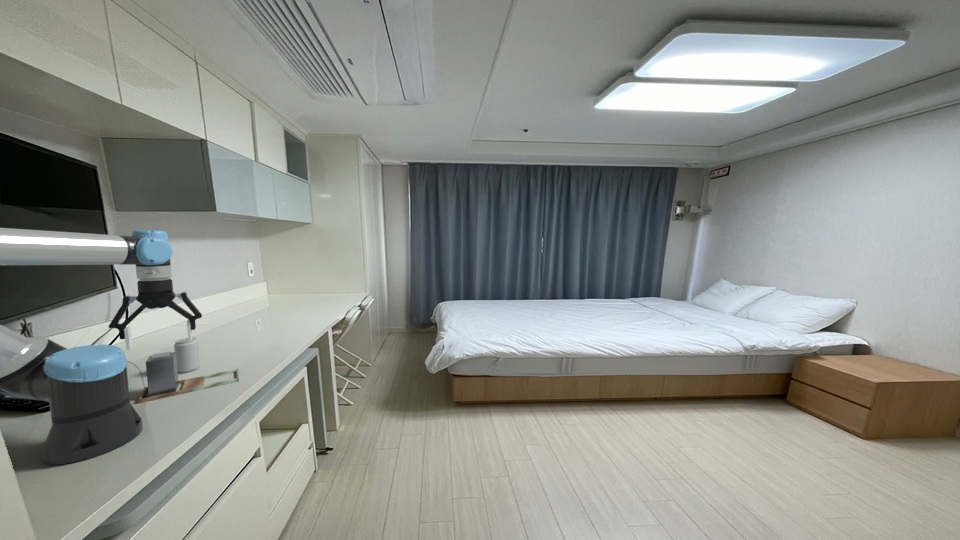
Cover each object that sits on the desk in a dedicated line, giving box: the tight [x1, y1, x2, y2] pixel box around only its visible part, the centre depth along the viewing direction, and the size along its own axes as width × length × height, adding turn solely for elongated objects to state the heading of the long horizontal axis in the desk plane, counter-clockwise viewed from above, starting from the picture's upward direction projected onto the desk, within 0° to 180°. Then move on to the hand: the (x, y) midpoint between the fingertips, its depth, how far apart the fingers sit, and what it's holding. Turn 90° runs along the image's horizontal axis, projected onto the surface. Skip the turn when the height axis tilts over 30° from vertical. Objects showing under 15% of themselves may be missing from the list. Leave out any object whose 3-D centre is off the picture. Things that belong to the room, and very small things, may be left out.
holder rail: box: [137, 368, 240, 404], centre depth 102 cm, size 24×10×1 cm, turn 130°
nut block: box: [145, 351, 180, 397], centre depth 97 cm, size 6×6×13 cm
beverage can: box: [173, 337, 200, 374], centre depth 114 cm, size 6×6×12 cm
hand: (161, 344), depth 97 cm, fingers open, 13 cm apart
